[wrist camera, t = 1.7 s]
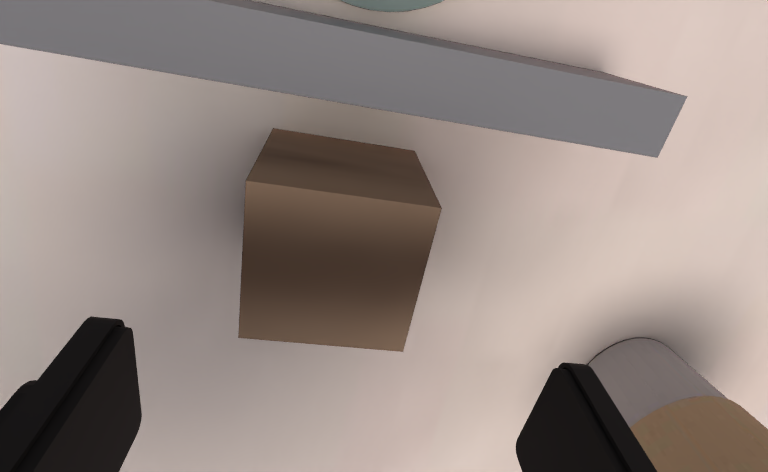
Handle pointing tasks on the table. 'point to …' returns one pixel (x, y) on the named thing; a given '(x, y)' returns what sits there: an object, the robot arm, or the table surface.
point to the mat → (392, 4)
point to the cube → (334, 242)
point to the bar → (351, 66)
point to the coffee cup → (679, 411)
